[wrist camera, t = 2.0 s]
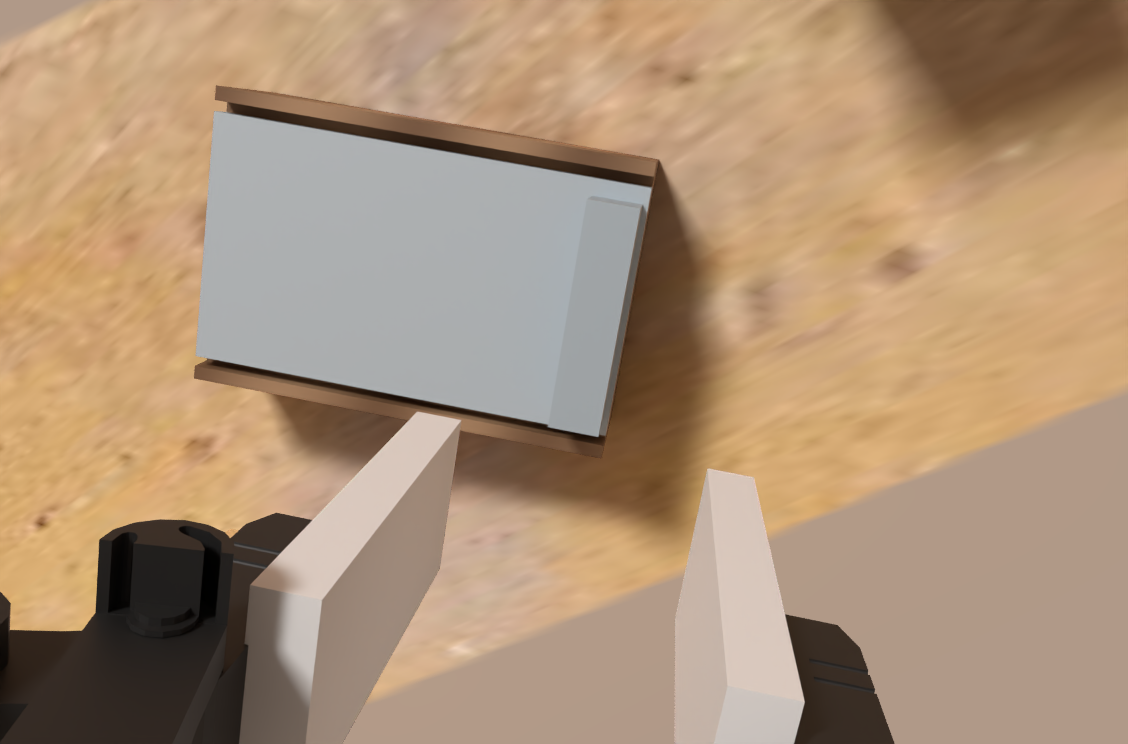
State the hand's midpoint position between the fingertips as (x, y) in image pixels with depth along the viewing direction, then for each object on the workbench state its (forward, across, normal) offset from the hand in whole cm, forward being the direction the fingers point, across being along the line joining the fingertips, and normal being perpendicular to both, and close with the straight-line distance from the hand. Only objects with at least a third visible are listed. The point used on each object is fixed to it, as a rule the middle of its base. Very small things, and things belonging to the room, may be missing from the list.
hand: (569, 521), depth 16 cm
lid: (+21, +8, 0) cm, 22 cm away
